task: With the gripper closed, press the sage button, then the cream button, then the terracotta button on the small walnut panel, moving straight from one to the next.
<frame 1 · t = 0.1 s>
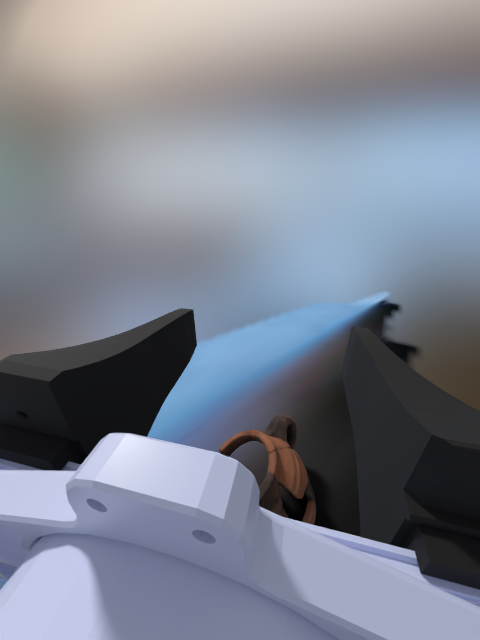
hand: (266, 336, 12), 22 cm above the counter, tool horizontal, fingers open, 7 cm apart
pottery mug: (266, 492, 28), on the counter
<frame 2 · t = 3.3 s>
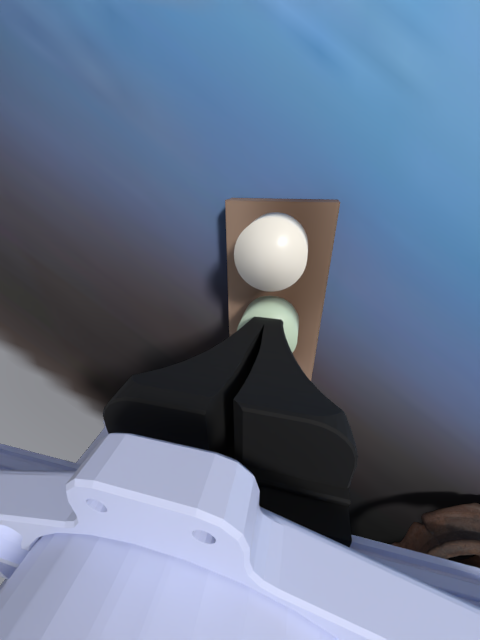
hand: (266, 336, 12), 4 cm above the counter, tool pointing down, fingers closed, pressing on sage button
cream button: (272, 251, 11), point 3 cm above the counter, slide at 0.0 cm
button panel: (275, 303, 15), on the counter
sage button: (268, 328, 13), point 3 cm above the counter, slide at 0.3 cm, touching gripper
pottery mug: (462, 525, 21), on the counter
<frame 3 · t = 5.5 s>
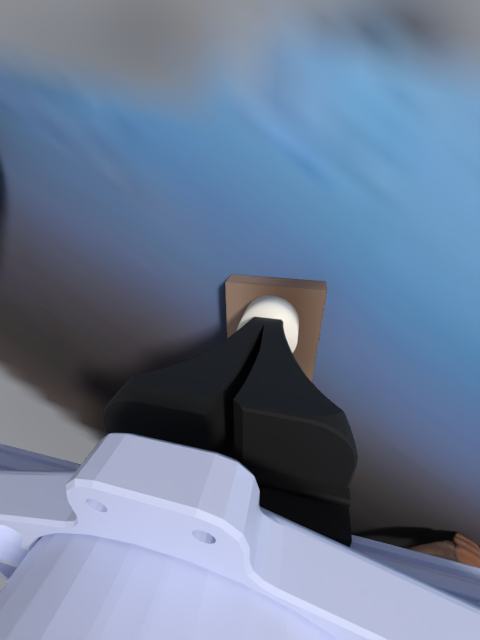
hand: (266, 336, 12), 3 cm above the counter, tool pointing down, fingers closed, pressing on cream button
cream button: (268, 328, 13), point 2 cm above the counter, slide at 0.7 cm, touching gripper
button panel: (271, 360, 17), on the counter
pottery mug: (439, 555, 23), on the counter
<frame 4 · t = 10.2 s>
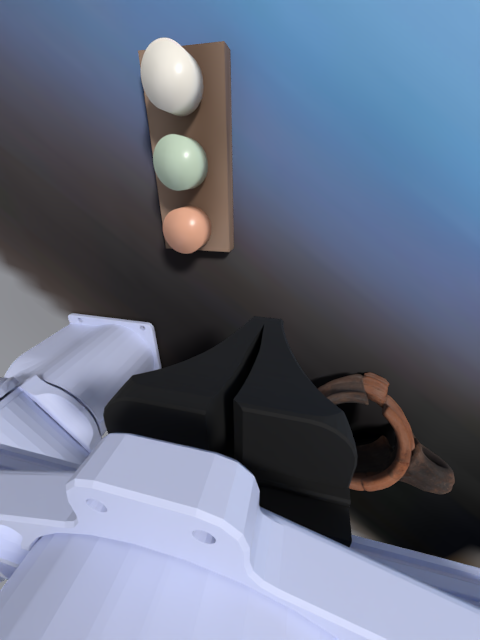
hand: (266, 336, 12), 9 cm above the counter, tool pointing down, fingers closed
cream button: (173, 80, 14), point 2 cm above the counter, slide at 0.7 cm
button panel: (196, 164, 18), on the counter
sage button: (181, 163, 16), point 2 cm above the counter, slide at 0.7 cm
pottery mug: (363, 409, 25), on the counter
terracotta button: (187, 229, 18), point 2 cm above the counter, slide at 0.7 cm
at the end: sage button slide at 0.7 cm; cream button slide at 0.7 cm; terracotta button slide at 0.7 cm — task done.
